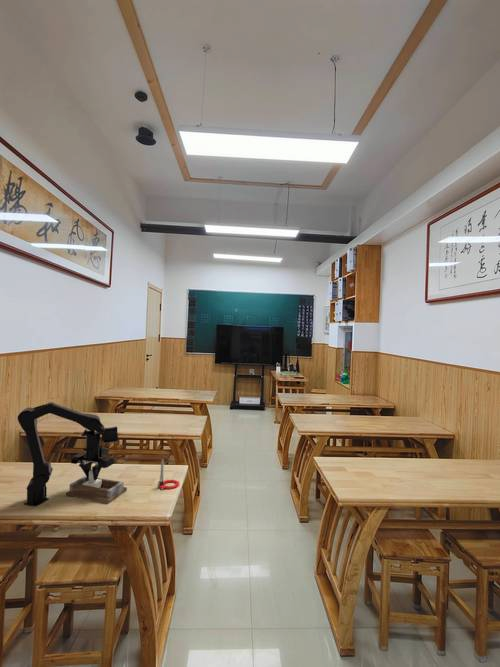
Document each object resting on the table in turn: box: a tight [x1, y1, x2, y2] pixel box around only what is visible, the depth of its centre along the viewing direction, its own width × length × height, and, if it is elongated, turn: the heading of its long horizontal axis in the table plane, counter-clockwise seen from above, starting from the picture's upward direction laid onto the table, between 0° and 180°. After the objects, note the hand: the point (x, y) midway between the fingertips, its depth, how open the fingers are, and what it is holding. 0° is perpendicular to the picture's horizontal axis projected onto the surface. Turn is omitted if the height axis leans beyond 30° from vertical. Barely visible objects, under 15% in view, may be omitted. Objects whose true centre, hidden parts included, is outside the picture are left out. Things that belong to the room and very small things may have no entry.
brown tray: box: [65, 475, 128, 505], centre depth 145 cm, size 12×22×4 cm, turn 75°
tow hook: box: [157, 458, 180, 491], centre depth 154 cm, size 8×13×9 cm
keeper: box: [83, 469, 102, 488], centre depth 146 cm, size 6×5×8 cm
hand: (92, 479), depth 146 cm, fingers closed on keeper, 3 cm apart
